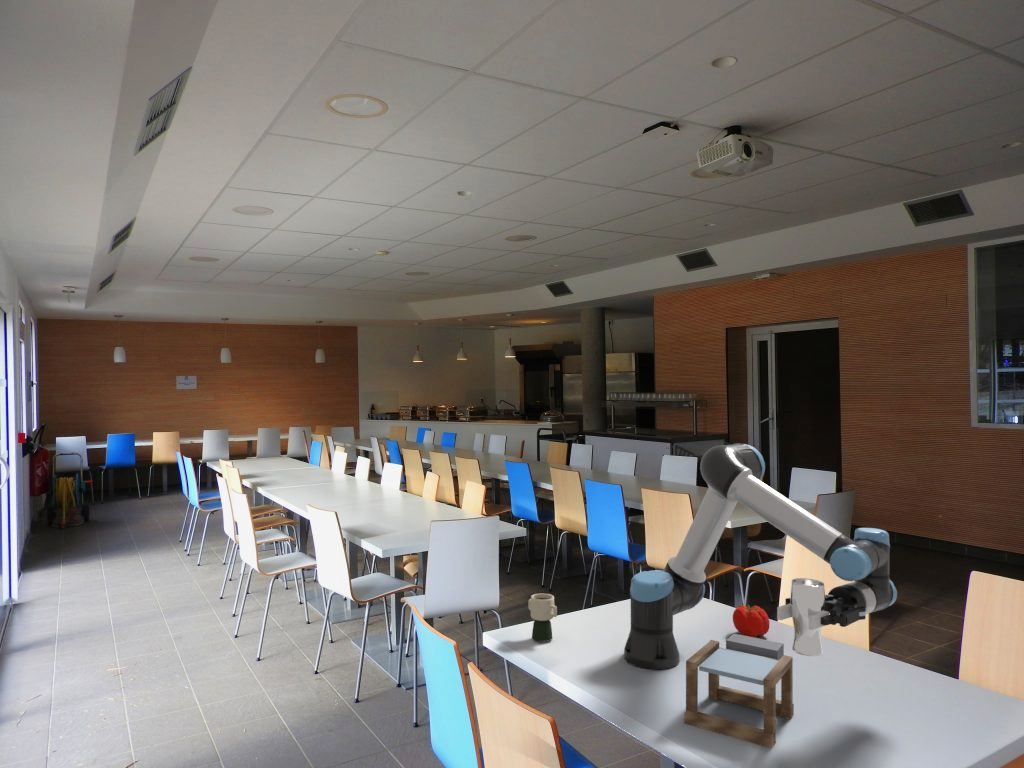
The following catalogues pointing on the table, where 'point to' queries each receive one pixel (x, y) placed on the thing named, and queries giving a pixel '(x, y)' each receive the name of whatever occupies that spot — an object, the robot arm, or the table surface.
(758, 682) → the trapdoor
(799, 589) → the beer glass
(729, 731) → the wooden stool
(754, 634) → the tomato
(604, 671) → the table surface
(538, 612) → the character mug
